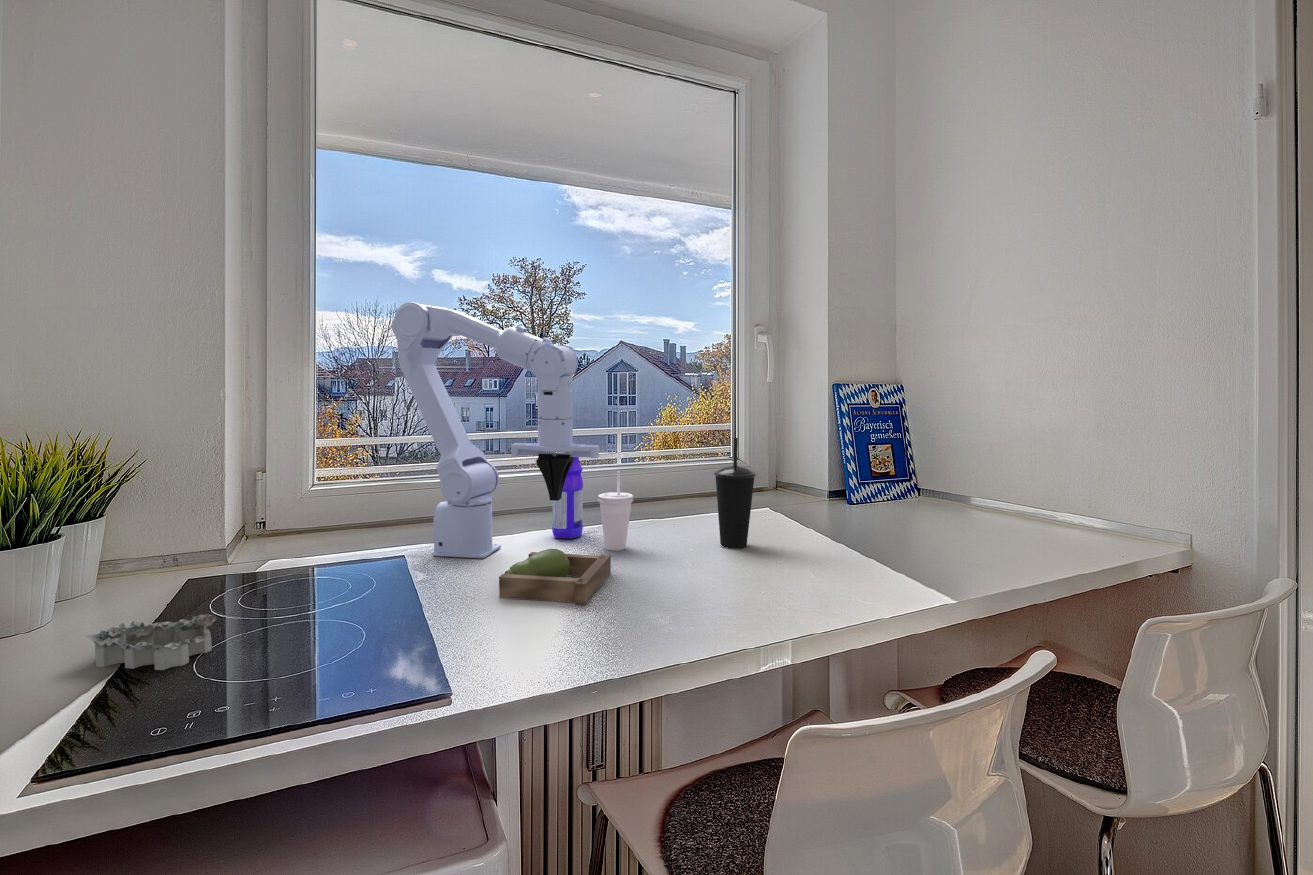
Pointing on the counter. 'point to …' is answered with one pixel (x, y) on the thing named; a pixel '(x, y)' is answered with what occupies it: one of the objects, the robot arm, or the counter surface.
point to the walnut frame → (560, 581)
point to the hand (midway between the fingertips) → (555, 499)
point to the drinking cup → (734, 502)
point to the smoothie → (615, 517)
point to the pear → (543, 564)
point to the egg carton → (153, 643)
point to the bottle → (569, 505)
